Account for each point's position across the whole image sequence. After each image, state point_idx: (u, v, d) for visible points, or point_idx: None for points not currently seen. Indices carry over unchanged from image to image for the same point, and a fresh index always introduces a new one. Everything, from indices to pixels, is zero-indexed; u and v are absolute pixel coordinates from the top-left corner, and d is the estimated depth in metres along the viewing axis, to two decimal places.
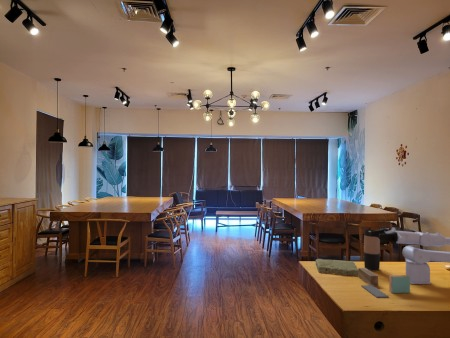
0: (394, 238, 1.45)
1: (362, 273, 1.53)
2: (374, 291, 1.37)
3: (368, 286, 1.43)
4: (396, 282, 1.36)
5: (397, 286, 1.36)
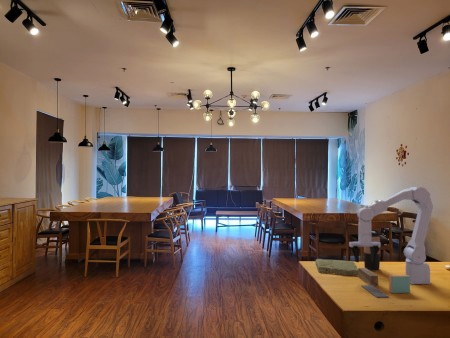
0: None
1: (362, 273, 1.53)
2: (374, 291, 1.37)
3: (368, 286, 1.43)
4: (396, 282, 1.36)
5: (397, 286, 1.36)
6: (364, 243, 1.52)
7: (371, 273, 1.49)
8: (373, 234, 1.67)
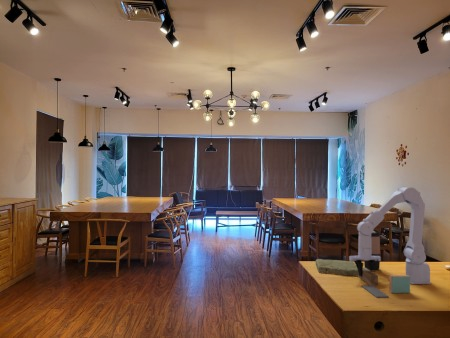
0: None
1: None
2: (374, 291, 1.37)
3: (368, 286, 1.43)
4: (396, 282, 1.36)
5: (397, 286, 1.36)
6: (364, 257, 1.52)
7: (371, 273, 1.49)
8: (373, 234, 1.67)
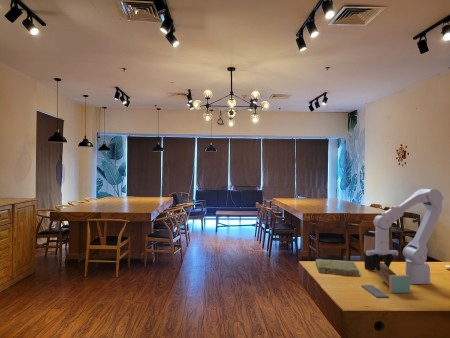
0: None
1: (380, 270, 1.49)
2: (374, 291, 1.37)
3: (368, 286, 1.43)
4: (396, 282, 1.36)
5: (397, 286, 1.36)
6: (382, 252, 1.49)
7: (390, 271, 1.45)
8: (373, 234, 1.67)
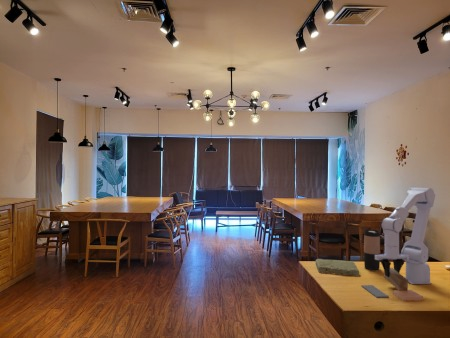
0: None
1: (390, 275, 1.42)
2: (374, 291, 1.37)
3: (368, 286, 1.43)
4: None
5: None
6: (391, 256, 1.41)
7: (400, 276, 1.38)
8: (373, 234, 1.67)
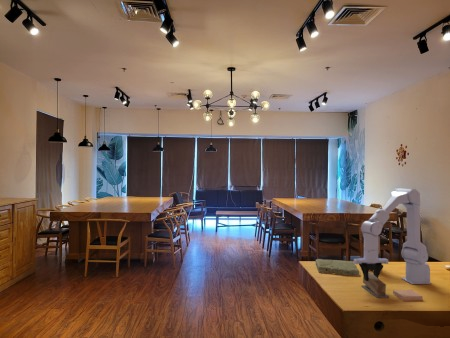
0: None
1: (368, 280, 1.39)
2: None
3: None
4: None
5: None
6: (370, 260, 1.38)
7: (378, 281, 1.35)
8: None
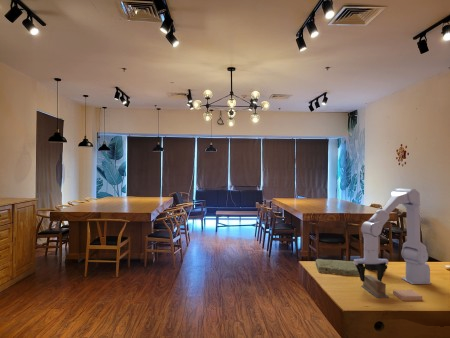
0: None
1: (368, 281, 1.40)
2: None
3: None
4: None
5: None
6: (370, 261, 1.38)
7: (377, 281, 1.36)
8: None
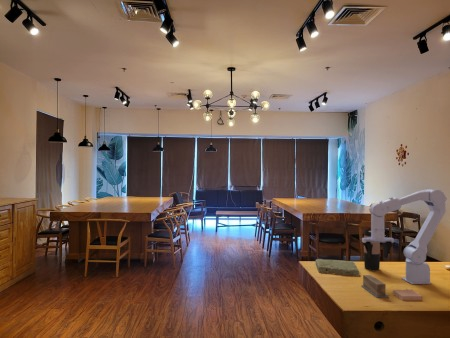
0: None
1: (368, 281, 1.40)
2: None
3: None
4: None
5: None
6: (377, 239, 1.51)
7: (377, 281, 1.36)
8: None
